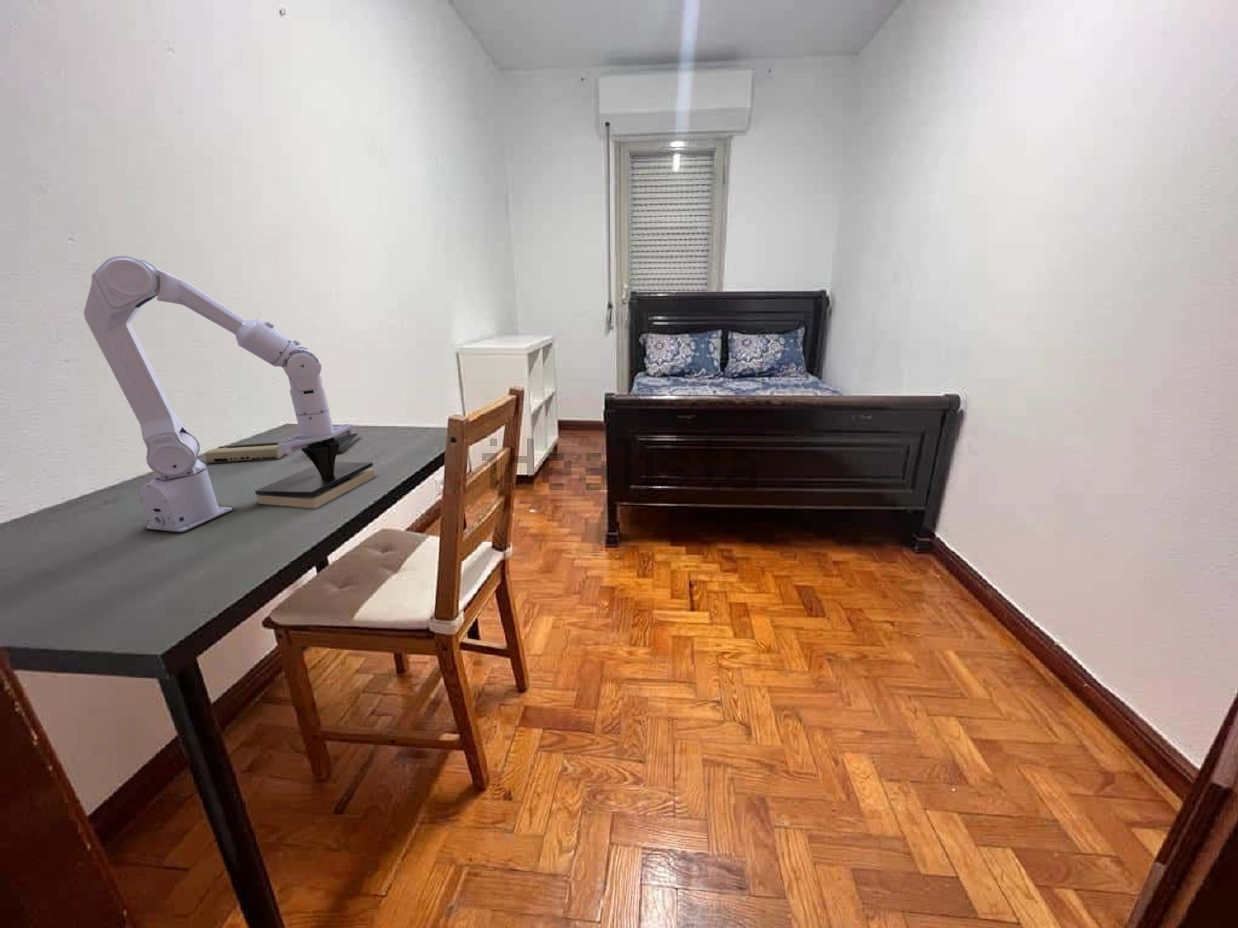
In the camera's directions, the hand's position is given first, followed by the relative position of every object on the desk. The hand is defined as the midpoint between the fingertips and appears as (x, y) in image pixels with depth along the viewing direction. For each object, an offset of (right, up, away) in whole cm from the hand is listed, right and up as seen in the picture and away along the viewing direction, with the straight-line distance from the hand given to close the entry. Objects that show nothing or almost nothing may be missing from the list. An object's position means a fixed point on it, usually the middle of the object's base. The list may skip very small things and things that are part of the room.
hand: (328, 477), depth 104 cm
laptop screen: (-2, -1, +1) cm, 3 cm away
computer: (-32, +4, +24) cm, 40 cm away
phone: (-15, +7, +30) cm, 35 cm away
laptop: (-2, -3, +1) cm, 4 cm away
